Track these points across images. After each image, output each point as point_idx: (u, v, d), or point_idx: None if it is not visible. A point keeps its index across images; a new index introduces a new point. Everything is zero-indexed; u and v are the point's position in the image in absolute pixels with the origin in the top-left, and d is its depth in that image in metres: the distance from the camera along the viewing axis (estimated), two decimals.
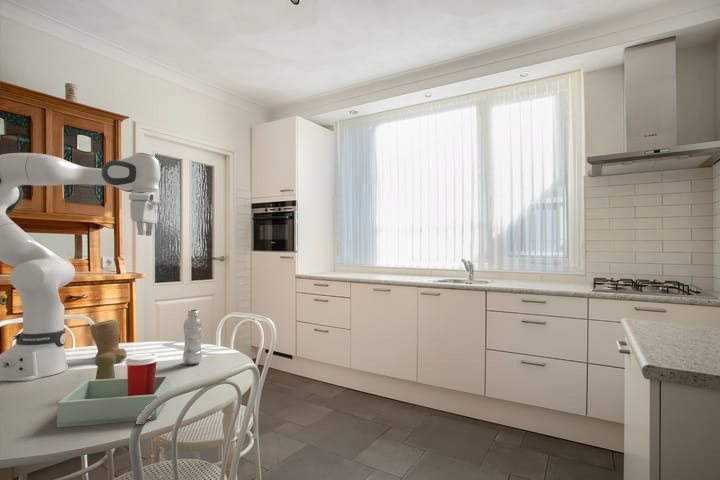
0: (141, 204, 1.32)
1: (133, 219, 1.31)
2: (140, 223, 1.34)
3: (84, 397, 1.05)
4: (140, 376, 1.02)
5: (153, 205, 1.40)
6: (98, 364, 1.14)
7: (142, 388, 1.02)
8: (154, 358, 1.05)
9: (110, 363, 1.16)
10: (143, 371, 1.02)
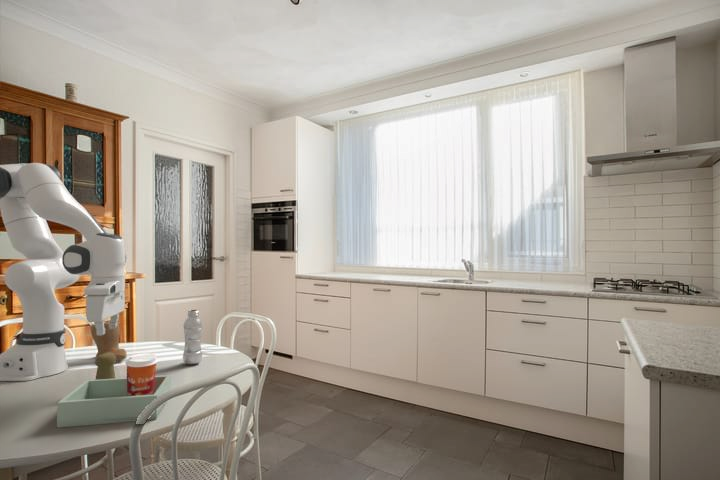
0: (99, 301, 1.08)
1: (89, 320, 1.07)
2: (99, 322, 1.11)
3: (84, 397, 1.05)
4: None
5: (117, 295, 1.17)
6: (98, 364, 1.14)
7: None
8: None
9: (110, 363, 1.16)
10: None
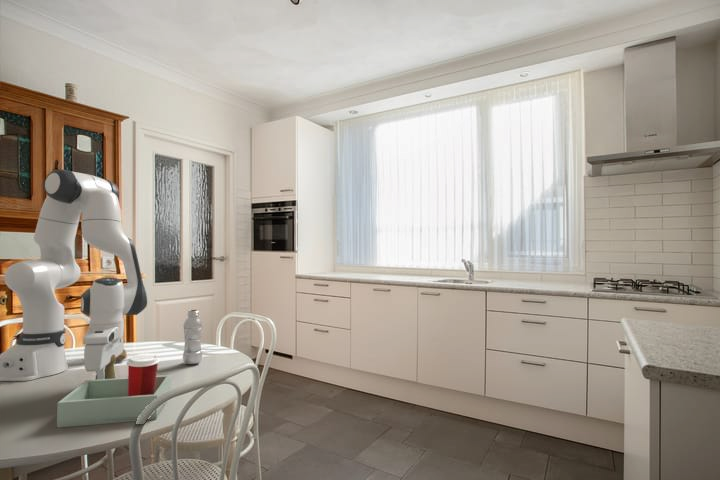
0: (98, 350, 1.08)
1: (87, 370, 1.07)
2: None
3: (84, 397, 1.05)
4: (135, 377, 1.01)
5: (115, 341, 1.17)
6: None
7: (137, 390, 1.02)
8: (151, 361, 1.03)
9: (110, 363, 1.16)
10: (138, 373, 1.01)
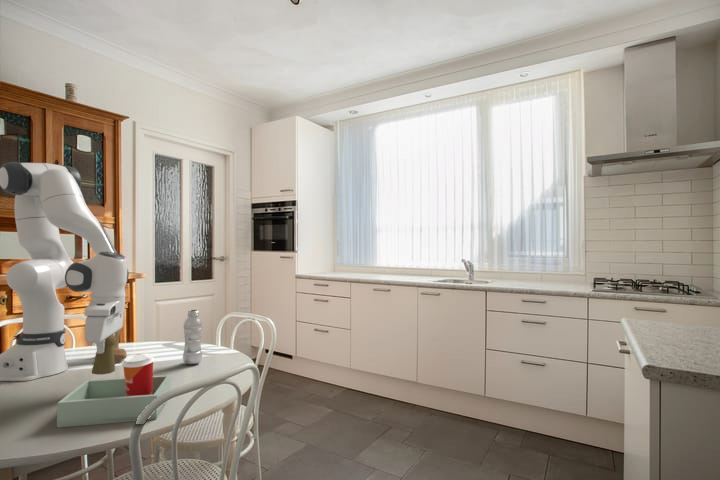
0: (99, 322, 1.09)
1: (88, 341, 1.08)
2: (100, 341, 1.13)
3: (84, 397, 1.05)
4: (151, 373, 1.05)
5: (116, 315, 1.17)
6: None
7: (152, 384, 1.05)
8: None
9: (110, 344, 1.16)
10: (152, 367, 1.05)
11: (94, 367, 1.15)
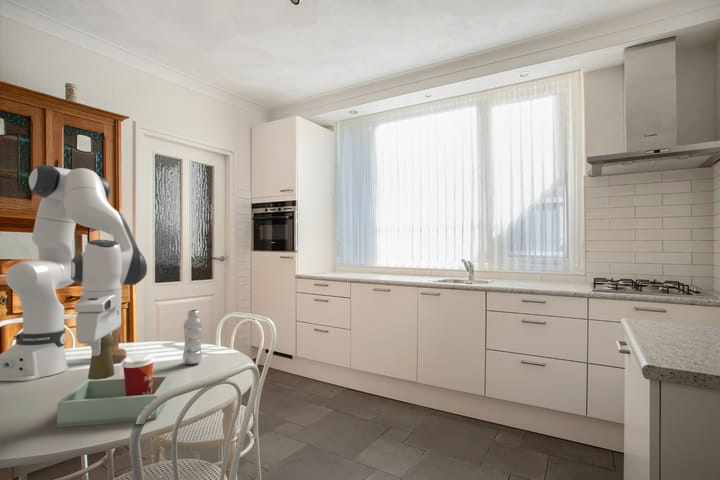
0: (92, 319, 0.94)
1: (80, 341, 0.93)
2: (95, 341, 0.98)
3: (84, 397, 1.05)
4: None
5: (112, 311, 1.02)
6: None
7: None
8: (126, 363, 1.01)
9: (107, 345, 1.02)
10: None
11: (90, 371, 1.00)
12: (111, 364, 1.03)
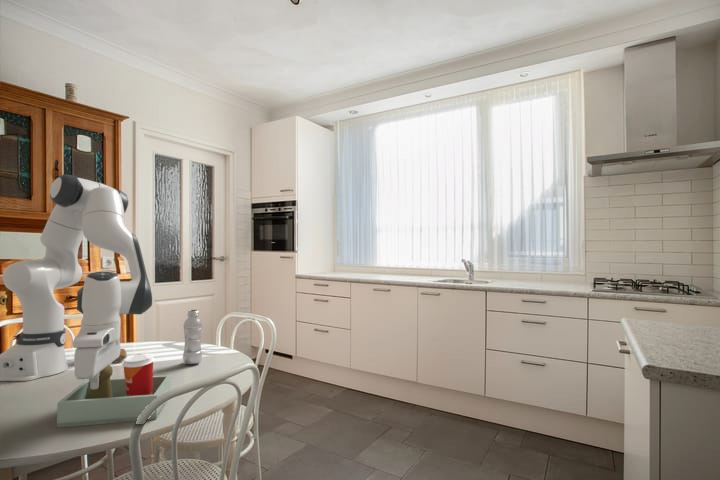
0: (90, 355, 0.94)
1: (78, 377, 0.93)
2: (94, 375, 0.98)
3: (84, 397, 1.05)
4: (151, 373, 1.05)
5: (111, 343, 1.02)
6: None
7: (151, 384, 1.05)
8: None
9: (106, 377, 1.01)
10: (152, 367, 1.05)
11: None
12: (110, 395, 1.03)
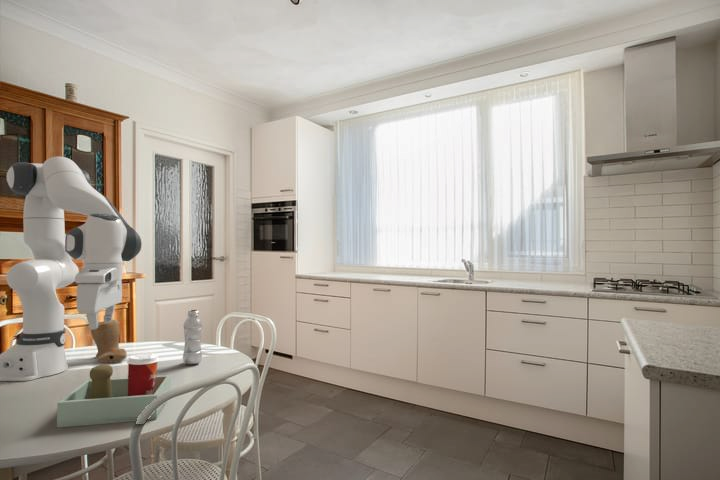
0: (92, 290, 0.94)
1: (80, 312, 0.93)
2: (92, 314, 0.97)
3: (84, 397, 1.05)
4: None
5: (113, 284, 1.03)
6: (92, 377, 1.00)
7: None
8: (133, 360, 1.02)
9: (106, 376, 1.02)
10: None
11: None
12: (110, 396, 1.03)
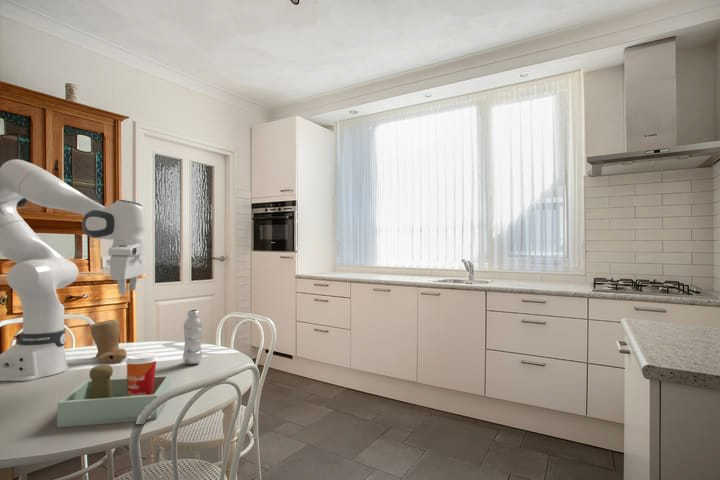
0: (122, 260, 1.17)
1: (113, 278, 1.16)
2: (122, 281, 1.19)
3: (84, 397, 1.05)
4: None
5: (137, 258, 1.25)
6: (92, 377, 1.00)
7: None
8: None
9: (106, 376, 1.02)
10: None
11: None
12: (110, 395, 1.03)
